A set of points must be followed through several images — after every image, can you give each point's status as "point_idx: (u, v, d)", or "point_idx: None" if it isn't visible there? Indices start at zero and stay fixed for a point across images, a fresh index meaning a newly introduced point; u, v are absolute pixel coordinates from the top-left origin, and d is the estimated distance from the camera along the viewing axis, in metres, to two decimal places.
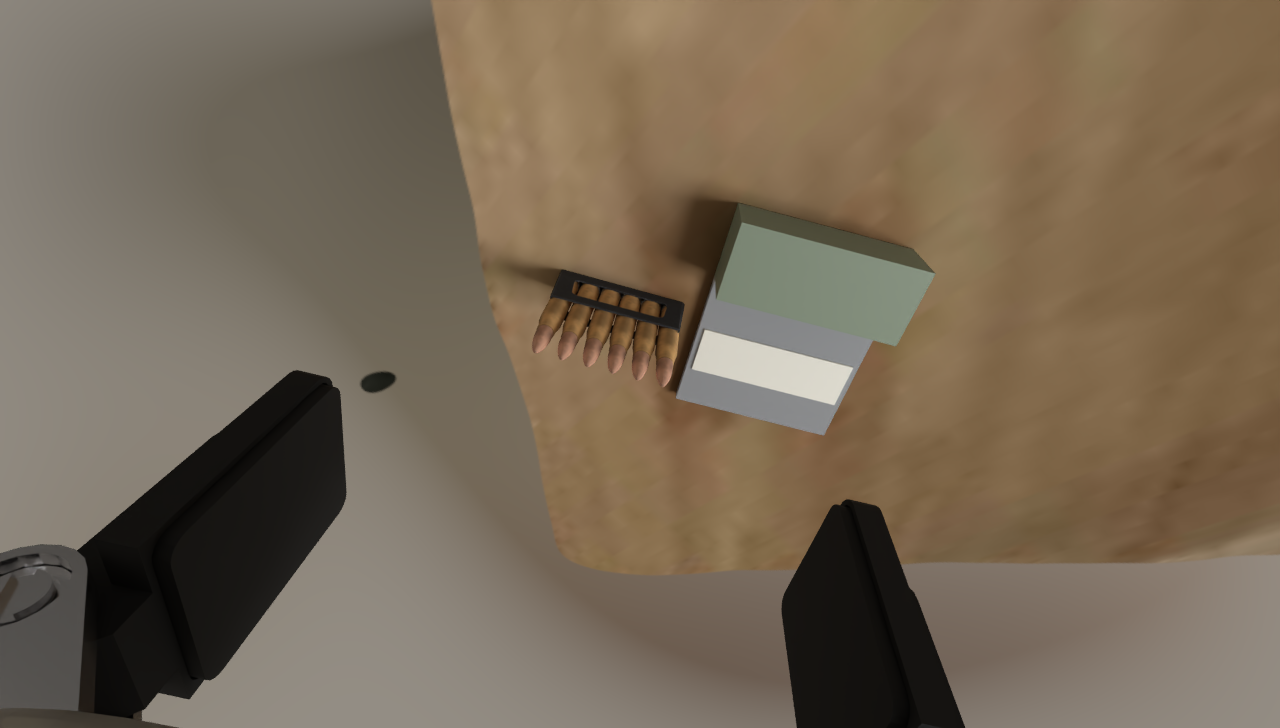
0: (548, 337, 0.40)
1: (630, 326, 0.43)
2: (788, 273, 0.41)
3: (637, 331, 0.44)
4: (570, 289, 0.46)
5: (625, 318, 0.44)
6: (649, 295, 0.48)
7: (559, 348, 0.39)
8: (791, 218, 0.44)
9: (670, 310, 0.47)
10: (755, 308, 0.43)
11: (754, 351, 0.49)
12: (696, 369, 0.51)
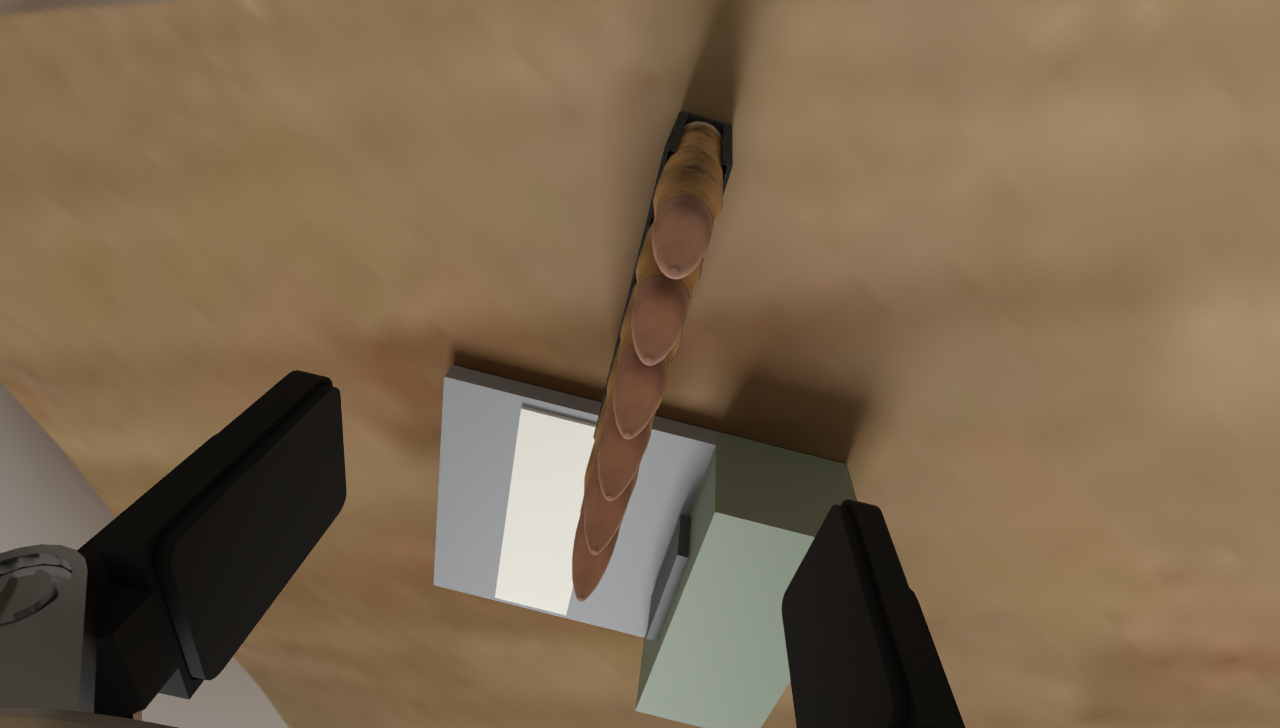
0: None
1: None
2: (763, 606, 0.24)
3: None
4: None
5: None
6: None
7: (667, 325, 0.11)
8: None
9: None
10: (696, 565, 0.23)
11: (576, 502, 0.27)
12: (521, 415, 0.25)
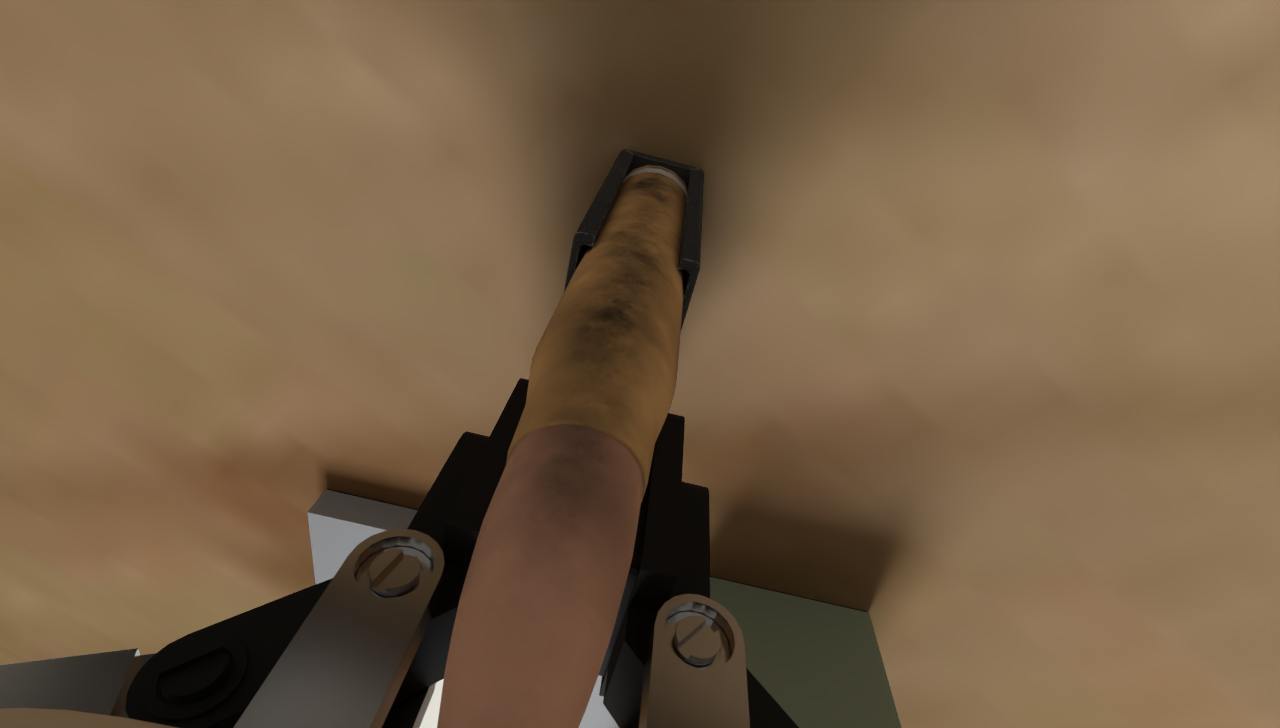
0: None
1: None
2: None
3: None
4: None
5: None
6: None
7: None
8: None
9: None
10: None
11: None
12: None
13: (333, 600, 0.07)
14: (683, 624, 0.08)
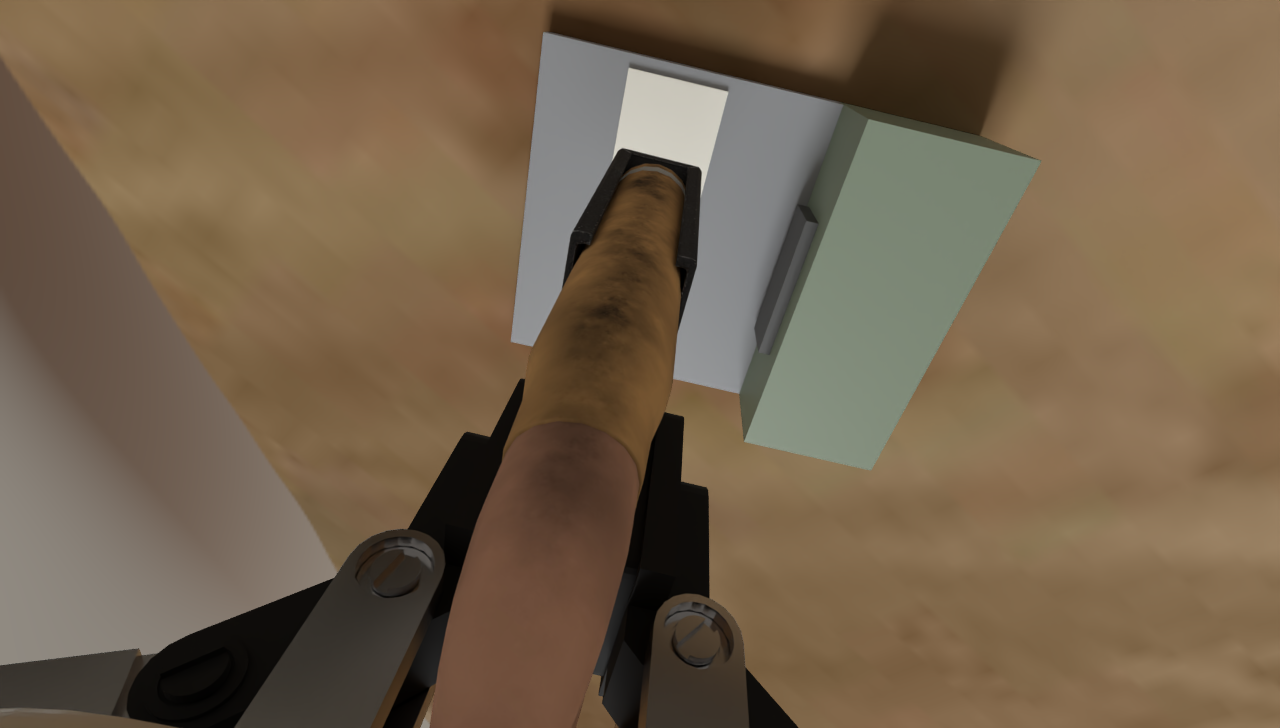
0: None
1: None
2: (907, 262, 0.22)
3: None
4: None
5: None
6: None
7: None
8: None
9: None
10: (837, 207, 0.21)
11: None
12: (628, 79, 0.23)
13: (334, 600, 0.07)
14: (682, 624, 0.08)
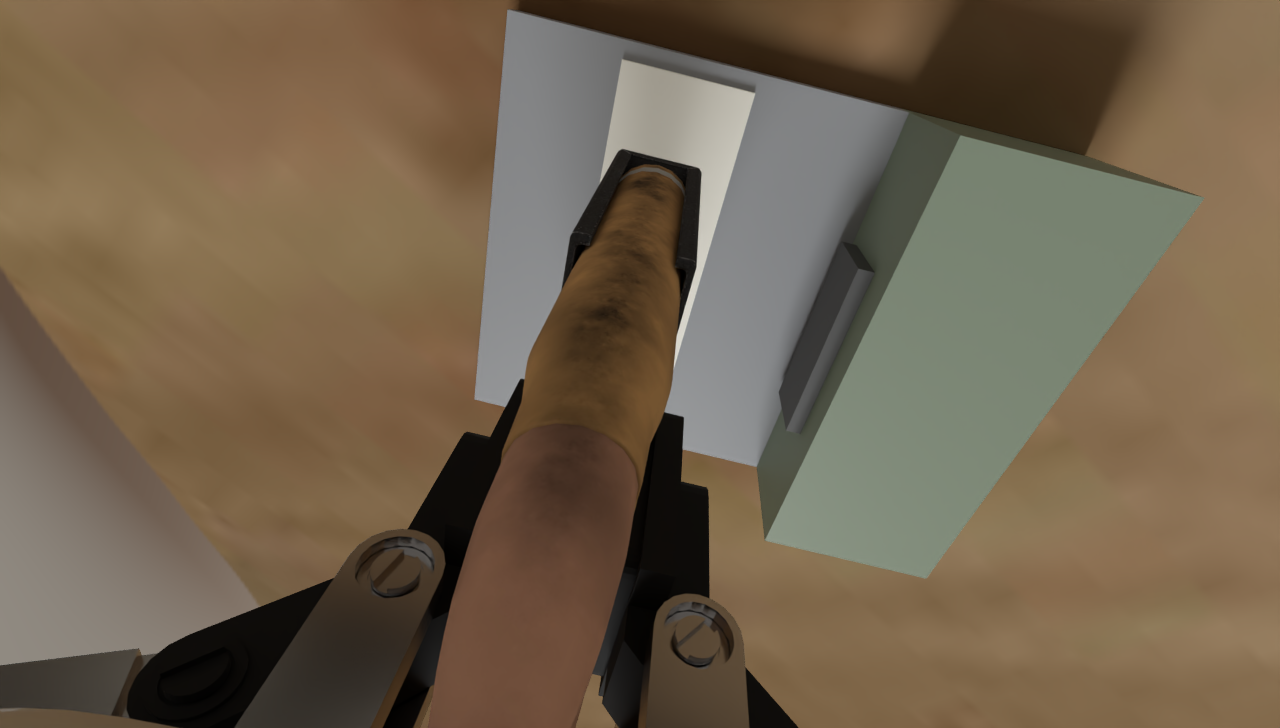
0: None
1: None
2: (997, 329, 0.16)
3: None
4: None
5: None
6: None
7: None
8: None
9: None
10: (906, 256, 0.15)
11: None
12: (620, 75, 0.17)
13: (334, 600, 0.07)
14: (683, 624, 0.08)
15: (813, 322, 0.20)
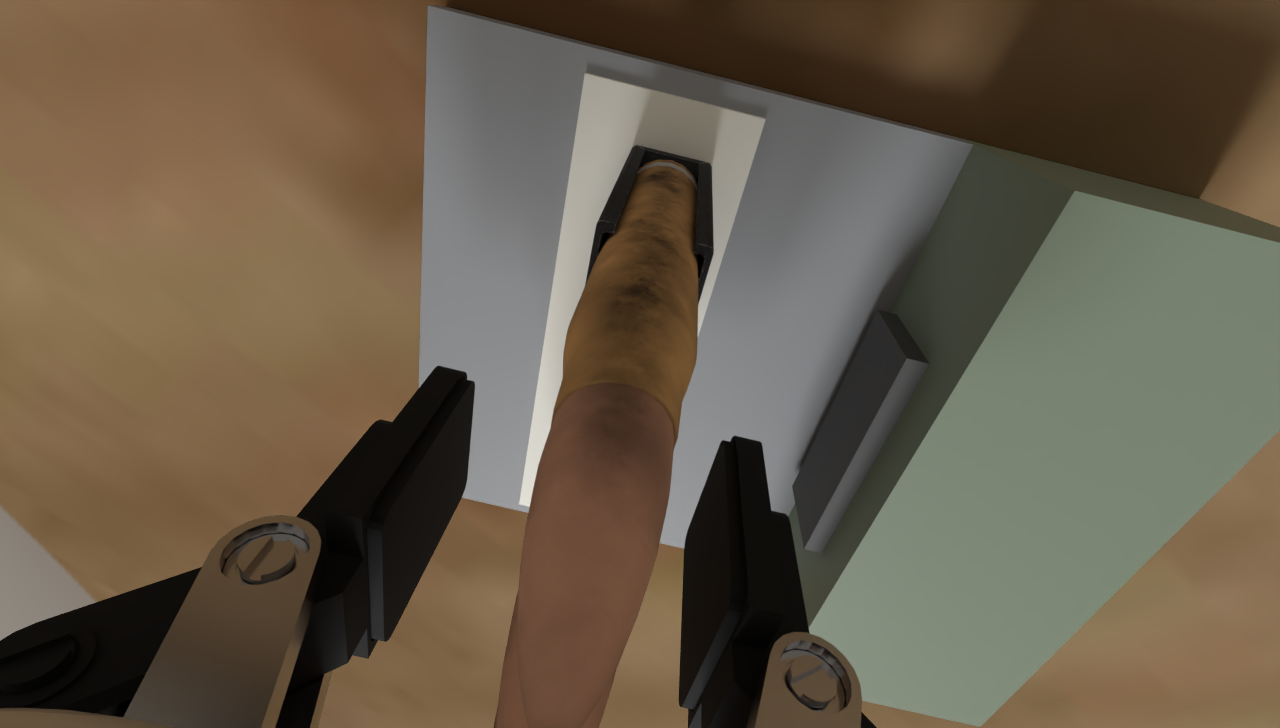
0: None
1: None
2: (1102, 448, 0.11)
3: None
4: None
5: None
6: None
7: None
8: None
9: None
10: (981, 353, 0.11)
11: None
12: (584, 94, 0.13)
13: (190, 587, 0.07)
14: (799, 661, 0.08)
15: (839, 410, 0.15)
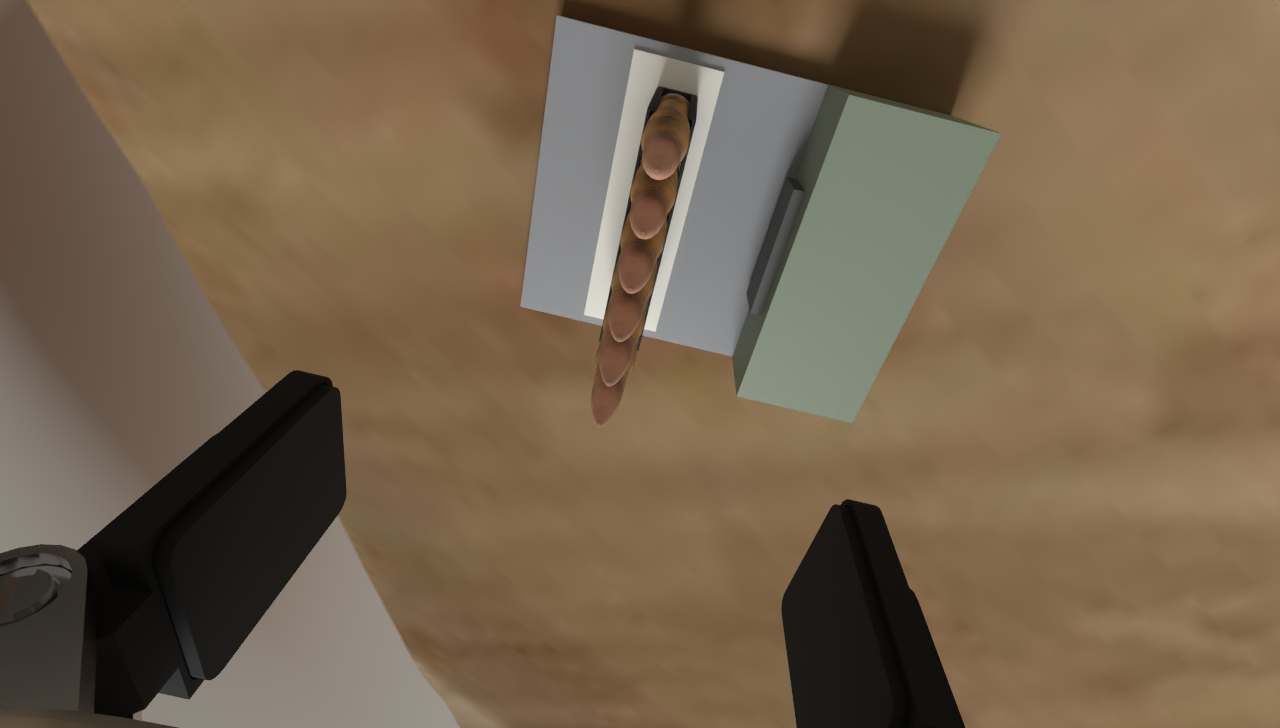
0: None
1: None
2: (884, 226, 0.24)
3: None
4: None
5: (656, 267, 0.24)
6: None
7: (654, 214, 0.17)
8: None
9: None
10: (821, 175, 0.23)
11: None
12: (633, 60, 0.25)
13: None
14: None
15: (768, 235, 0.28)
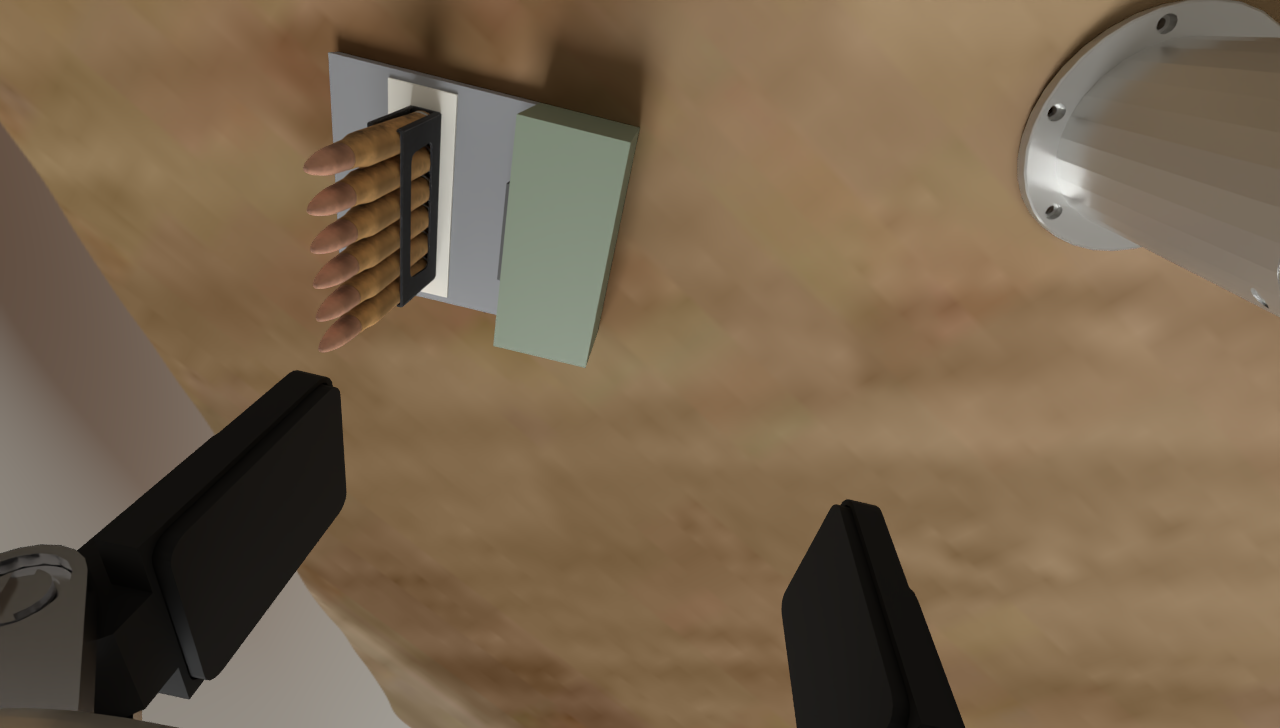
0: (336, 173, 0.26)
1: (388, 255, 0.32)
2: (567, 211, 0.32)
3: (384, 264, 0.32)
4: (417, 148, 0.32)
5: (397, 242, 0.32)
6: (433, 238, 0.37)
7: (324, 199, 0.25)
8: (624, 198, 0.36)
9: (422, 275, 0.37)
10: (512, 173, 0.31)
11: (440, 172, 0.35)
12: (389, 85, 0.33)
13: None
14: None
15: None
